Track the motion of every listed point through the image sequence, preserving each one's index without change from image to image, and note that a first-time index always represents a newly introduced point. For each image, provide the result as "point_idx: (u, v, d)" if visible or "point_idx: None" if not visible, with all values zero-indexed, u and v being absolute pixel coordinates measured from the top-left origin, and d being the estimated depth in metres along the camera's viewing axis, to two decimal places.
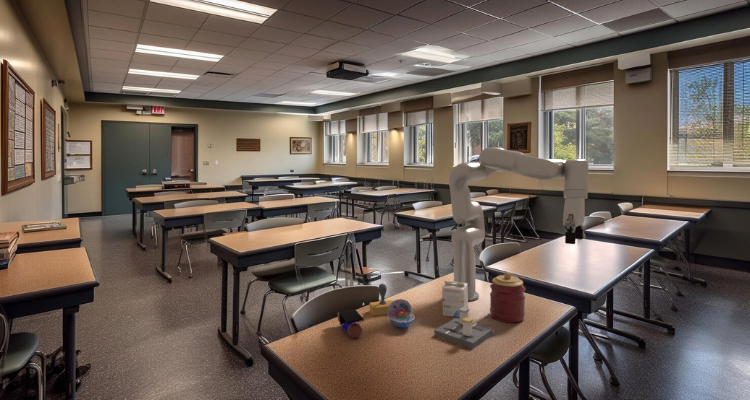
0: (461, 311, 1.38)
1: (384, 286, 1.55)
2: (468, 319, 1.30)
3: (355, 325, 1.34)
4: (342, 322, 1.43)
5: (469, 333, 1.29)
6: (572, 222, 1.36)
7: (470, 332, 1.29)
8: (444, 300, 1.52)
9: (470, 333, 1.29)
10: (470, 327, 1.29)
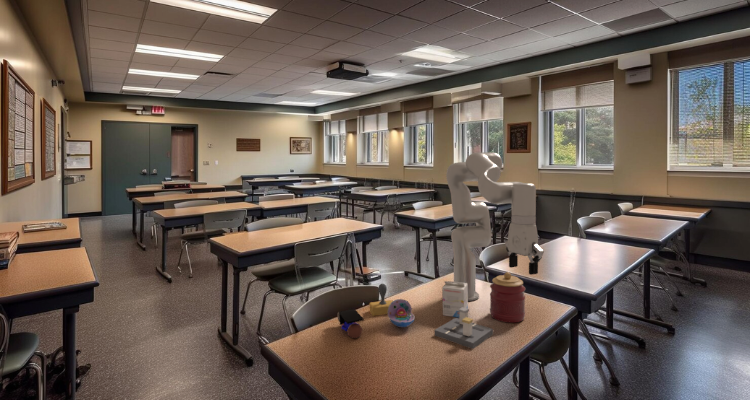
0: (461, 311, 1.38)
1: (384, 286, 1.55)
2: (468, 319, 1.30)
3: (355, 325, 1.34)
4: (342, 322, 1.43)
5: (469, 333, 1.29)
6: None
7: (470, 332, 1.29)
8: (444, 300, 1.52)
9: (470, 333, 1.29)
10: (470, 327, 1.29)
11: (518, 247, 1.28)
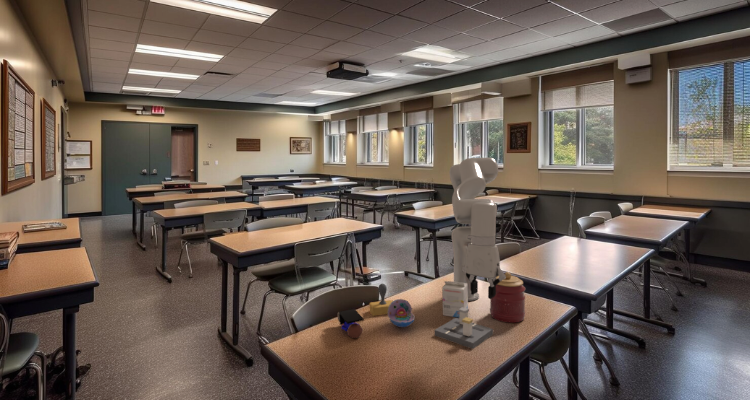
0: (461, 311, 1.38)
1: (384, 286, 1.55)
2: (468, 319, 1.30)
3: (355, 325, 1.34)
4: (342, 322, 1.43)
5: (469, 333, 1.29)
6: None
7: (470, 332, 1.29)
8: (444, 300, 1.52)
9: (470, 333, 1.29)
10: (470, 327, 1.29)
11: (481, 269, 1.21)
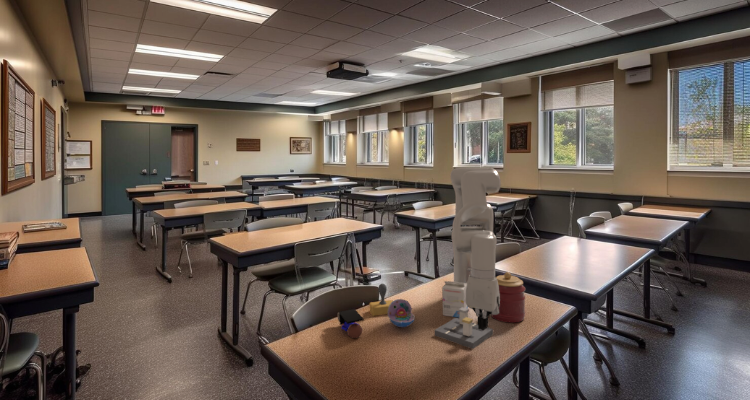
0: (461, 311, 1.38)
1: (384, 286, 1.55)
2: (468, 319, 1.30)
3: (355, 325, 1.34)
4: (342, 322, 1.43)
5: (469, 333, 1.29)
6: None
7: (470, 332, 1.29)
8: (444, 300, 1.52)
9: (470, 333, 1.29)
10: (470, 327, 1.29)
11: (481, 302, 1.22)
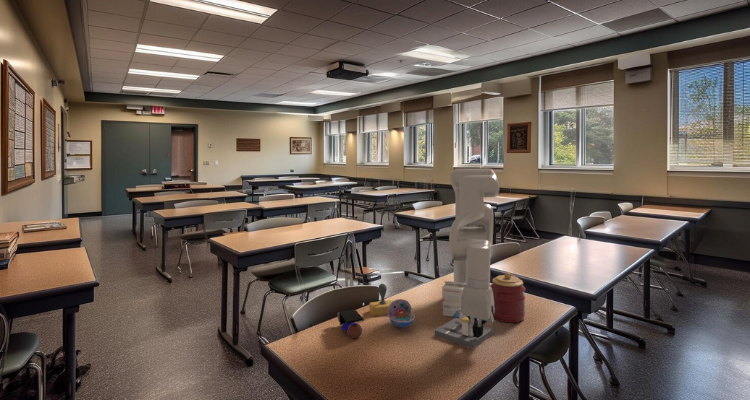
0: None
1: (384, 286, 1.55)
2: (467, 319, 1.30)
3: (355, 325, 1.34)
4: (342, 322, 1.43)
5: (468, 333, 1.29)
6: None
7: (469, 332, 1.30)
8: (444, 300, 1.52)
9: (469, 333, 1.30)
10: (469, 327, 1.30)
11: (476, 311, 1.24)
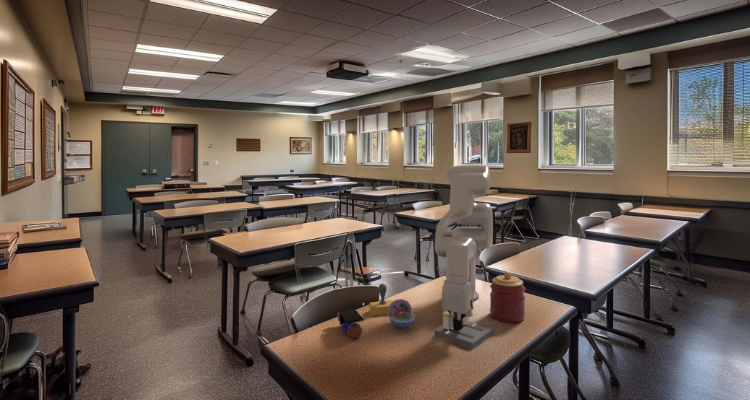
0: None
1: (384, 286, 1.55)
2: (448, 313, 1.35)
3: (355, 325, 1.34)
4: (342, 322, 1.43)
5: (449, 326, 1.34)
6: None
7: (450, 325, 1.35)
8: None
9: (450, 326, 1.35)
10: (450, 321, 1.35)
11: (456, 305, 1.29)
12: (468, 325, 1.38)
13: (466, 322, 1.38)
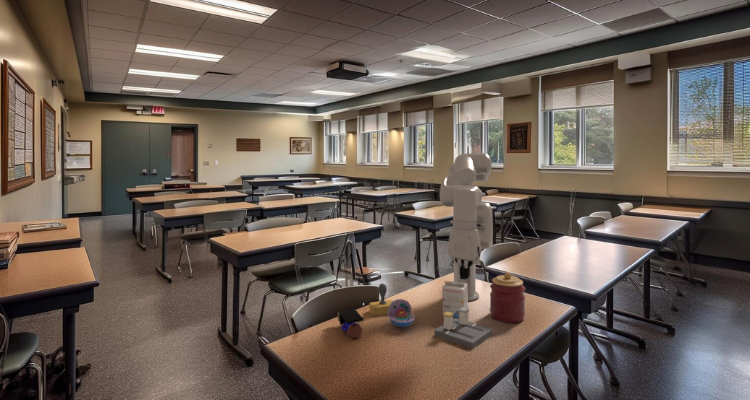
0: (461, 311, 1.38)
1: (384, 286, 1.55)
2: (449, 313, 1.35)
3: (355, 325, 1.34)
4: (342, 322, 1.43)
5: (450, 327, 1.34)
6: None
7: (451, 326, 1.35)
8: (444, 300, 1.52)
9: (451, 327, 1.35)
10: (451, 321, 1.34)
11: (463, 252, 1.27)
12: (468, 325, 1.38)
13: (466, 322, 1.38)
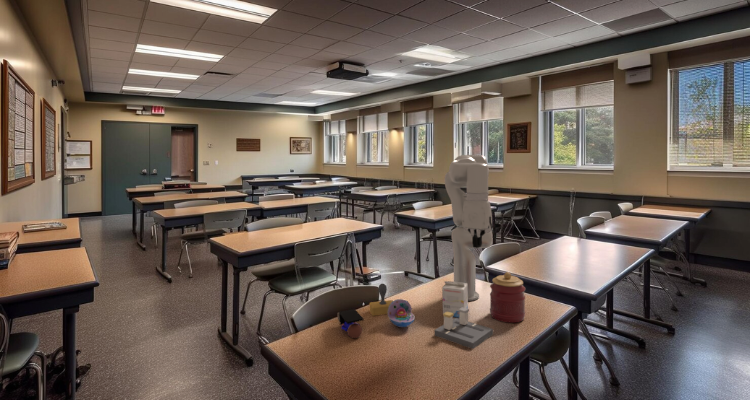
0: (461, 311, 1.38)
1: (384, 286, 1.55)
2: (449, 313, 1.35)
3: (355, 325, 1.34)
4: (342, 322, 1.43)
5: (450, 327, 1.34)
6: None
7: (451, 326, 1.35)
8: (444, 300, 1.52)
9: (451, 327, 1.35)
10: (451, 321, 1.34)
11: (476, 222, 1.39)
12: (468, 325, 1.38)
13: (466, 322, 1.38)
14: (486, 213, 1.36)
